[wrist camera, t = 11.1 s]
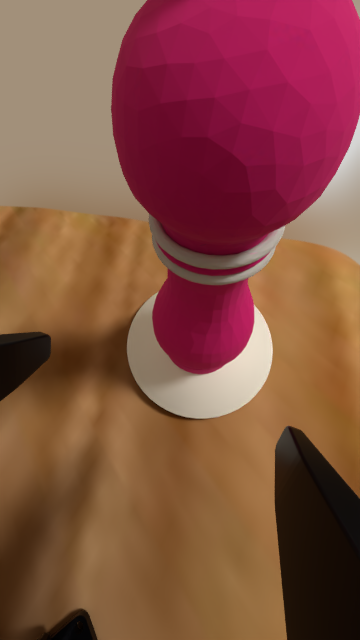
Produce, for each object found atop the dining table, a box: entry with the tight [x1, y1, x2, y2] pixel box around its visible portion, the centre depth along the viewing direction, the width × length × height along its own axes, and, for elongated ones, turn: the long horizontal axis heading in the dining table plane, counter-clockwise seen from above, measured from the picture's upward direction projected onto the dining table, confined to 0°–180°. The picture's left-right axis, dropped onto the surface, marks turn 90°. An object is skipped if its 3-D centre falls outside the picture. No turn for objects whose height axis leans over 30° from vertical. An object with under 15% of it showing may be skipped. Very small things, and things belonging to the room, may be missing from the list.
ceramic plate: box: [127, 292, 273, 419], centre depth 21 cm, size 13×13×1 cm
